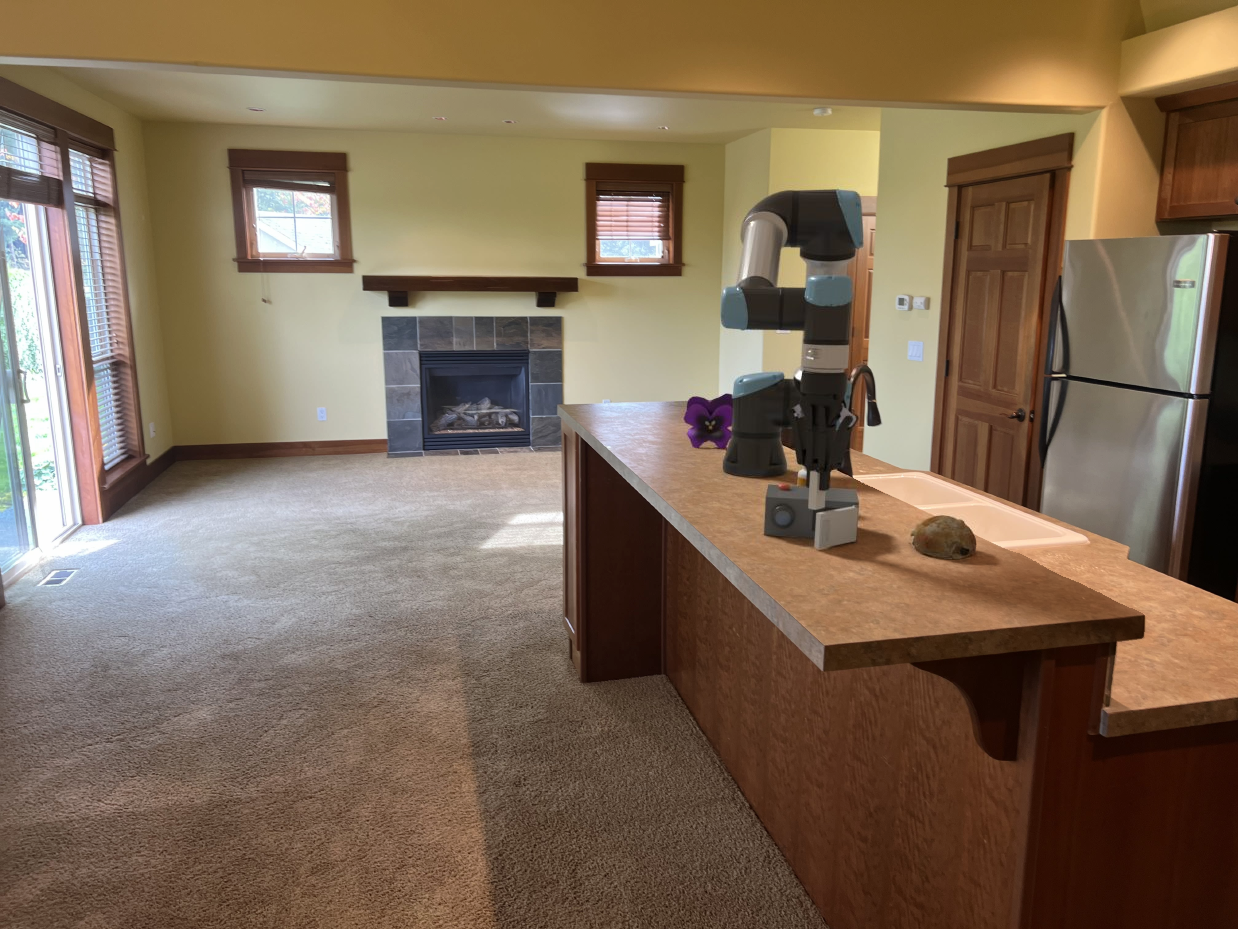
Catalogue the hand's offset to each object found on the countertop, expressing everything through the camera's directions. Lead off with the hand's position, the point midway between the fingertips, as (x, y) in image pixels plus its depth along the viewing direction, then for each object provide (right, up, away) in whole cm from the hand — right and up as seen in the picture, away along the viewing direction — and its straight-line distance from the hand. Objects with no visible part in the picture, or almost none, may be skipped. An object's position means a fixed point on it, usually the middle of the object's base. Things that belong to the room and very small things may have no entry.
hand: (816, 507), depth 152 cm
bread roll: (+21, -8, -1) cm, 22 cm away
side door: (+4, -6, 0) cm, 7 cm away
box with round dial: (+1, -5, +10) cm, 11 cm away
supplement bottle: (+4, -1, +26) cm, 27 cm away
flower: (-9, +13, +93) cm, 94 cm away
